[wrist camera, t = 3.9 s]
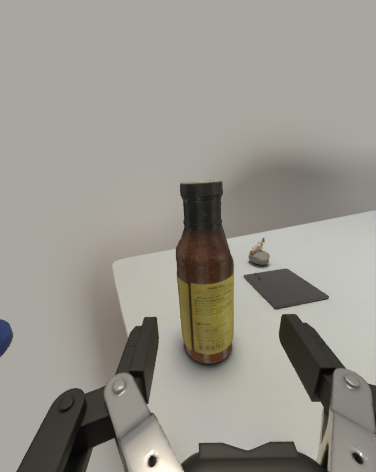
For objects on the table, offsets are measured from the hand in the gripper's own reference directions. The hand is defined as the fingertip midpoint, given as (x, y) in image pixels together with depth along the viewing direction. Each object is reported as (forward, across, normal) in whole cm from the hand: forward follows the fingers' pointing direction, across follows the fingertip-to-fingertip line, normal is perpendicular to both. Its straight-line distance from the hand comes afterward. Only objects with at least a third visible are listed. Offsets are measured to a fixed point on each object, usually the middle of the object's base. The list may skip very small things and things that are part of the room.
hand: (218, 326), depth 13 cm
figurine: (+31, -14, +12) cm, 36 cm away
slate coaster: (+21, -15, +11) cm, 28 cm away
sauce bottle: (+9, 0, +12) cm, 15 cm away
